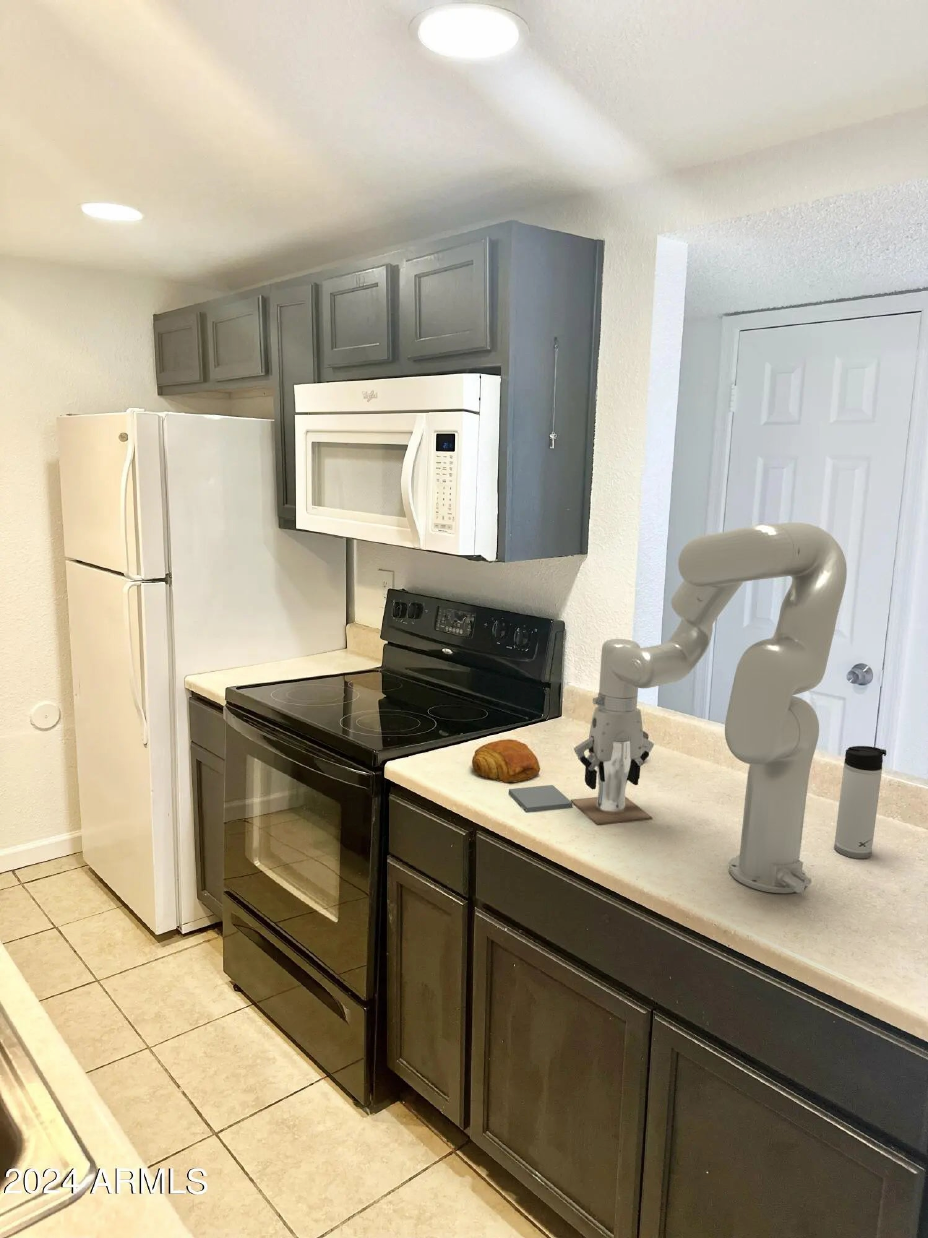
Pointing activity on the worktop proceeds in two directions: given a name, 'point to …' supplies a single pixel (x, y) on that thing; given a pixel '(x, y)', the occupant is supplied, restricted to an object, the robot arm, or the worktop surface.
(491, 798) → the worktop surface
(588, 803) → the dot tile
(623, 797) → the beer glass
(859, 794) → the travel mug
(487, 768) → the croissant
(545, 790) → the rubber mat
